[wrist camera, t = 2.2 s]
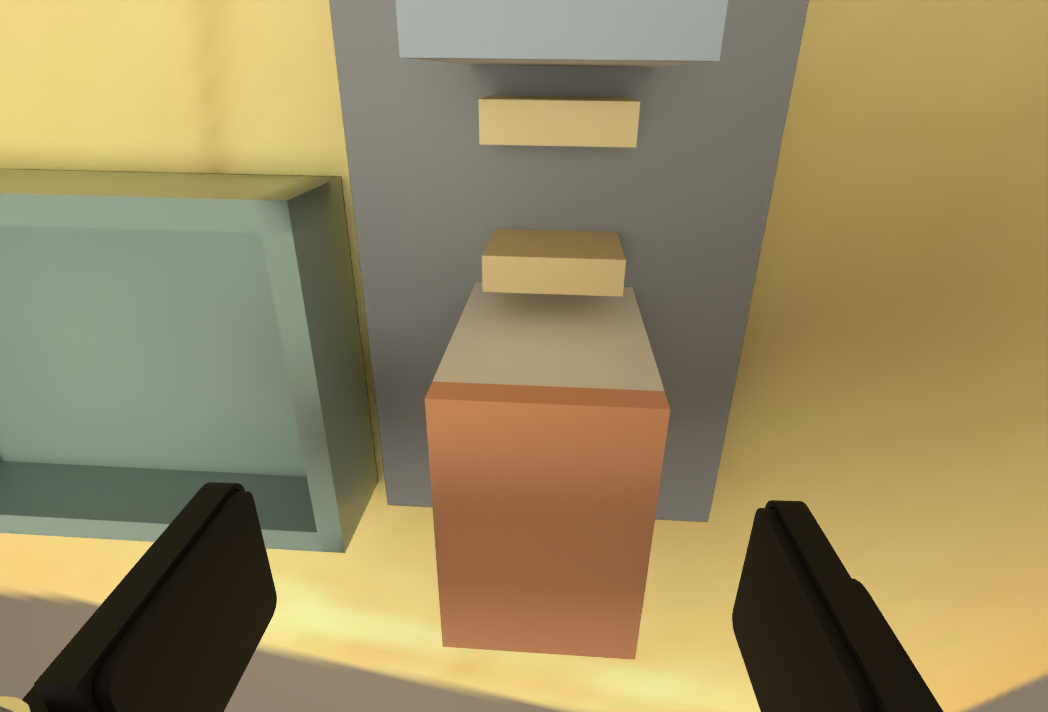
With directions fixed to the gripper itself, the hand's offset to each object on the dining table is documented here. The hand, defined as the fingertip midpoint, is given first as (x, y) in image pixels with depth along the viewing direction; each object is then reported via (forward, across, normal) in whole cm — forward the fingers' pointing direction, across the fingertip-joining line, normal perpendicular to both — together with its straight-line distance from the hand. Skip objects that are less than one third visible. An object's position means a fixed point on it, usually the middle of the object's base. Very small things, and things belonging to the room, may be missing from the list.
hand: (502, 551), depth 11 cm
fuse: (+6, -1, 0) cm, 6 cm away
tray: (+7, +11, -1) cm, 13 cm away
